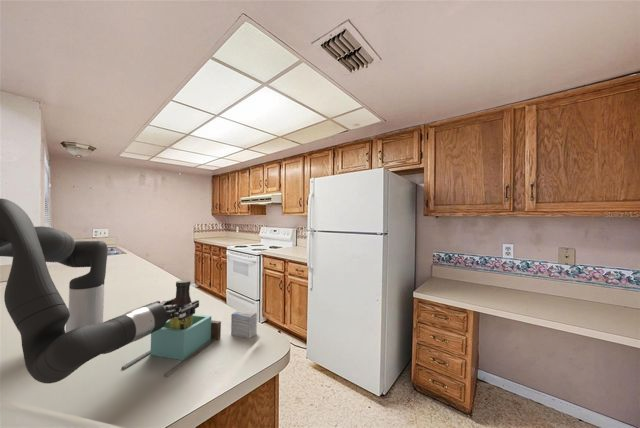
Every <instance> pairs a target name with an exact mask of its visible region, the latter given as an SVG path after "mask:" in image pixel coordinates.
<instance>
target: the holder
mask: <svg viewBox="0 0 640 428" xmlns="http://www.w3.org/2000/svg"><path fill="white" fill-rule="evenodd" d="M211 320H212V315H203V314H197V313H195V314H193V317H192V326H190V327H188V328H186V329H185V330H180V329H172V328H170V320H168V321H167V322H166V323H165V325H164V326H163V327H162V328H161V329H159V330H157V331H155V332H153V333H151V334H150V350H151V352H150V354H149V355H150V356H153V357H154V356H155V357H160V358H166V359H167V358H168V359H172V360H173V359H174V360H179V361H183V360H184V359H186V358H187V357H188V356H190V355H191V354H192V353H194V352H195V351H197V350H198V349H199V348H201V347H202V346H203V345H205V344H206V343H207V342H209V341H210V340H211Z"/></svg>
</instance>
